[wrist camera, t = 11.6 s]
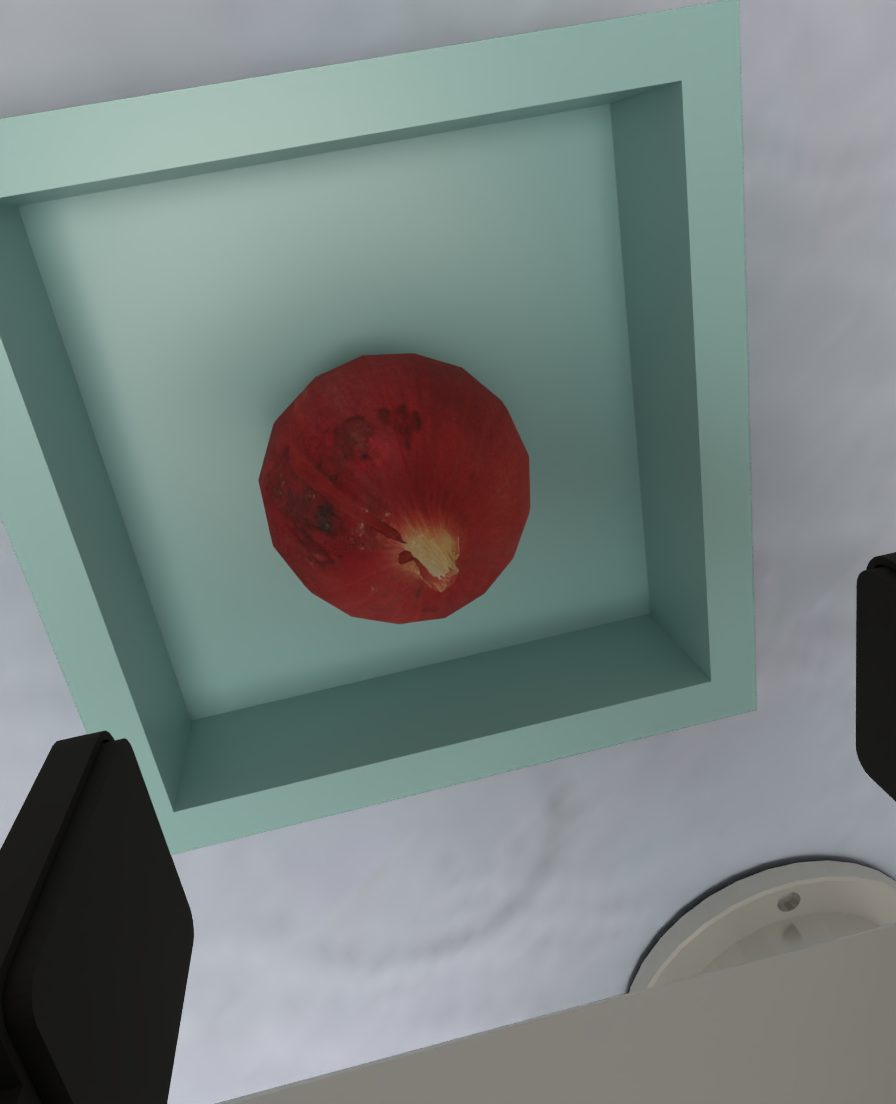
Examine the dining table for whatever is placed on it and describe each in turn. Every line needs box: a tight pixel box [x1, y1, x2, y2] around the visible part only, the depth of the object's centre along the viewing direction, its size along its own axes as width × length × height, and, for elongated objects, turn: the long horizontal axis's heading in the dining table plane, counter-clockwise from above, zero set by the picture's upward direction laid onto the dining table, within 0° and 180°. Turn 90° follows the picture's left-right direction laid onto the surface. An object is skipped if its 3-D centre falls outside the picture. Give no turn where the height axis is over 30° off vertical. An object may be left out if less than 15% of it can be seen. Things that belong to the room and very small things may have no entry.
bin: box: [0, 0, 757, 855], centre depth 21 cm, size 16×16×5 cm
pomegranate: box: [258, 353, 530, 624], centre depth 19 cm, size 6×6×8 cm
